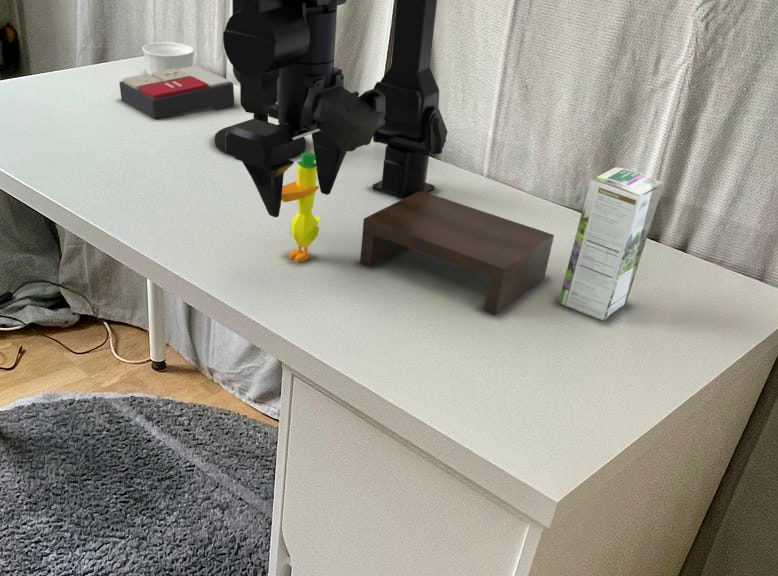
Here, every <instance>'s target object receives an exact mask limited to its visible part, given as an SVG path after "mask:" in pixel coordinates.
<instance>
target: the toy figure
mask: <svg viewBox="0 0 778 576" xmlns="http://www.w3.org/2000/svg"><path fill="white" fill-rule="evenodd" d="M300 157H301V160H300V161H297V164H298V165H297V166H296V180H295V181H294V182H293V181H292V182H290V183H287V184H284V185H283V187H282V198H281V202H284V203H288V202H293V201H297V213H296V215H294V217H293V218H292V219H291V220H290V225H289V229H290V236H291V237H292V239H293V241H294V243H296V245H297V249H292V250H291V251H290V253H289V254H288V258H289V259H291V260H293V259H294V262H296V263H301V262H304V261H307V260H308V259H310V255H309V253H308V247H310V246H311V245H312V244H313V242H314V241H315V240H316V238H317V237H318V236H319V231H320V227H319V222H320V221H321V218H322V215H320V216H316V217H315V216H314V215H313V207H314V201H315V195H316V192H317V191H318V190H320V186H319V185H317V168H316V167H317V164H316V161H315V158H316V155H315V154H314V153H311V152H303V153H302V154H300ZM302 248H303V250H302Z"/></svg>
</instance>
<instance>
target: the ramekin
mask: <svg viewBox="0 0 778 576" xmlns="http://www.w3.org/2000/svg"><path fill="white" fill-rule="evenodd" d="M142 53H143V57H144V63H145V71H146V74H150V75H152V74H151V73H154V72H159V71H164V70H169V69H178V70H179V69H181V68H186V67H191V66H193V60H194V55H195V49H194V48H193V47H192V46H190V45H188V44H186V43H185V44H184V43H179V42H173V41H172V42H171V41H156V42H151V43H150V42H149V43H147V44H145V45H143V46H142Z"/></svg>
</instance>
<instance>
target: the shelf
mask: <svg viewBox="0 0 778 576" xmlns="http://www.w3.org/2000/svg"><path fill="white" fill-rule="evenodd" d="M554 238H555V234H552V233H549V232H546V231H544V230H541V229H538V228H534V227H532V226H529V225H526V224H522V223H519V222H516V221H514V220H510V219H508V218H504V217H501V216H498V215H495V214H493V213H489V212H486V211H484V210H480V209H478V208H474V207H471V206H468V205H465V204H462V203H459V202H456V201H453V200H450V199H447V198H444V197H441V196H438V195H436V194H432V193H430V192H429V193H426V192H423V191H419V192H417V193H415V194H413V195H411V196H409V197H407V198H405V199H400V200H398V201H396V202H394V203H393V204H391V205H388V206H386V207H384V208H382V209H380V210H378V211H376V212H374V213H372V214H370V215H368V216H366V217H364V218H363V224H362V235H361V248H360V258H359V264H361V265H363V266H367V267H369V268H371V267H374V266H375V265H377V264H378V263H381V262H383V261H384V260H386V259H388V258H389V257H392V256H393V255H395V254H396V253H398V252H400V251H402V250H403V249H405V248H408V249H411V250H414V251H416V252H419V253H422V254H424V255H427V256H430V257H433V258H436V259H439V260H441V261H444V262H446V263H449V264H452V265H455V266H458V267H459V268H463V269H466V270H468V271H471V272H474V273H477V274H479V275H482V276H484V277H487V278H489V279H488V284H487V291H486V296H485V301H484V306H483V311H484V312H485V313H488V314H491V315H493V316H497V315H498V314H499V313H501V312H502V311H503V310H505V309H506V308H507V307H508V306H510V305H511V304H513V303H514V302H515V301H516V300H518V299H519V298H521V297H522V296H524V294H526V293H527V292H529V291H530V290H531V289H533V288H535V286H537V285H539V283H541V282H542V281H543V280H545V277H546V272H547V268H548V264H549V260H550V254H551V251H552V246H553V242H554Z"/></svg>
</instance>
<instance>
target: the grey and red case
mask: <svg viewBox="0 0 778 576" xmlns="http://www.w3.org/2000/svg"><path fill="white" fill-rule="evenodd" d="M151 74H152V75H150V74H148V73H144V74H139V75H134V76H128V77H124V78H122V81H119V82H118V83H119V84H118V85H119V90H120V91H119V92H120V98H121V102H124V103H125V104H127V105H128V106H131V107H132V108H134V109H136V110H137V111H139V112H141V113H142V114H145V115H147V116H148V117H150V118H152V119H154V120H158V119H163V118H167V117H173V116H176V115H182V114H186V113H190V112H194V111H200V110H204V109H208V108H212V109H213V110H220V109H225V108H230V107H233V106H235V90H234V83H233V82H232V81H230V80H229V79H227V78H224V77H223V76H220V75H218V74H216V73H214V72H212V71H209V70H208V69H205V68H203V67H202V66H199V65H192V66H191V67H186V68H181V69H179V70H178V69H169V70H164V71H159V72H154V73H151Z"/></svg>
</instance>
